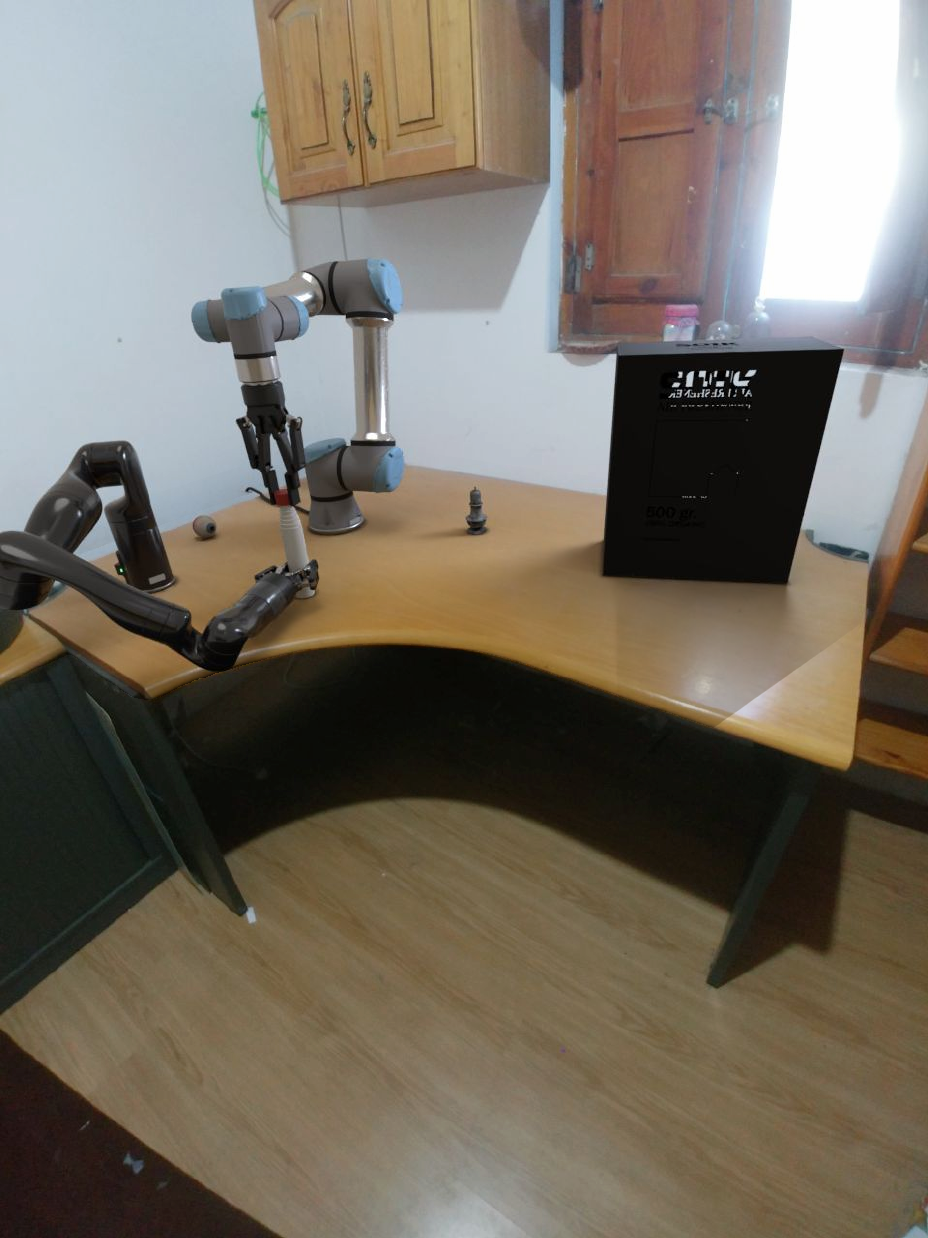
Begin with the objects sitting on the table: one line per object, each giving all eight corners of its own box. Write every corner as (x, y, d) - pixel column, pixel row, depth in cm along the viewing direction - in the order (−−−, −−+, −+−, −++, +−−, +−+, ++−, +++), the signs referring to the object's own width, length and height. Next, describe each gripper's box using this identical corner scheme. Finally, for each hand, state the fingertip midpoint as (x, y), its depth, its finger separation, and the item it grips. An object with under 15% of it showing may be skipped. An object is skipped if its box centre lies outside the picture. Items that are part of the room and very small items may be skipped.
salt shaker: (485, 534, 157) (484, 490, 151) (463, 534, 158) (461, 489, 152) (489, 526, 162) (488, 482, 156) (468, 525, 163) (466, 482, 157)
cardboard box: (766, 545, 143) (811, 336, 120) (787, 583, 126) (844, 348, 103) (603, 539, 150) (617, 342, 128) (602, 575, 133) (618, 355, 111)
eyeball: (206, 542, 163) (200, 521, 160) (191, 538, 166) (185, 518, 163) (224, 534, 167) (218, 514, 164) (209, 531, 170) (203, 510, 167)
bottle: (306, 599, 131) (285, 500, 120) (290, 596, 133) (268, 497, 121) (318, 591, 134) (299, 493, 123) (303, 588, 136) (283, 491, 125)
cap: (297, 503, 122) (295, 492, 121) (278, 507, 121) (275, 496, 120) (293, 498, 125) (291, 487, 124) (274, 502, 124) (272, 490, 123)
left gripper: (239, 613, 122) (279, 576, 136) (304, 618, 119) (338, 579, 133) (230, 580, 118) (272, 545, 132) (297, 584, 115) (332, 548, 129)
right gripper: (311, 378, 112) (331, 499, 124) (234, 378, 117) (261, 495, 129) (289, 385, 106) (313, 512, 118) (209, 385, 111) (240, 507, 122)
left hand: (304, 562), depth 133 cm, fingers closed on bottle, 4 cm apart
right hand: (286, 503), depth 123 cm, fingers closed on cap, 4 cm apart
